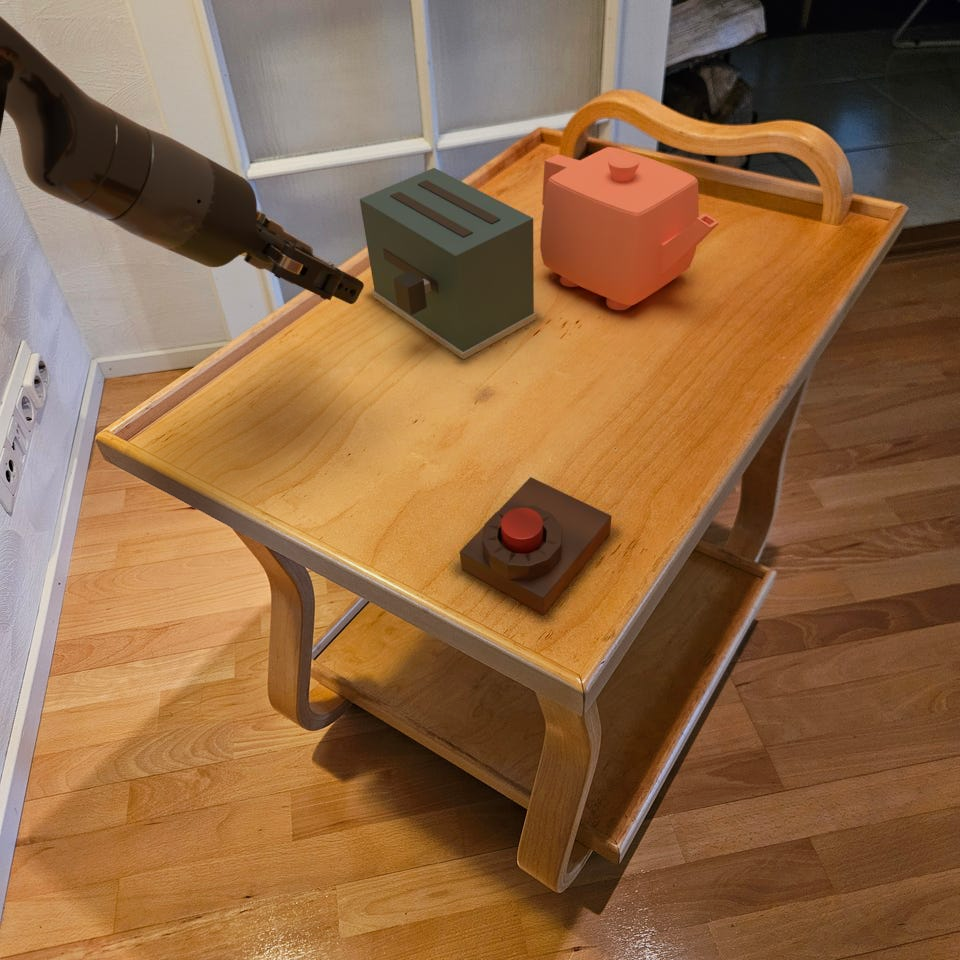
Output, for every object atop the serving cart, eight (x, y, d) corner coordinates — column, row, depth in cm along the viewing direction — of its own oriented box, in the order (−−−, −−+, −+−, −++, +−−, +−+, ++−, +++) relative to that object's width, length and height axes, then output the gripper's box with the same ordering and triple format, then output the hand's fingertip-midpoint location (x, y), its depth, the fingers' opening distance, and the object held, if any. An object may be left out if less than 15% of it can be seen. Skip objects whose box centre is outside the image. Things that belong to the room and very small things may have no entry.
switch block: (543, 616, 63) (543, 584, 60) (460, 569, 67) (457, 537, 64) (610, 533, 69) (613, 500, 66) (530, 493, 72) (530, 461, 69)
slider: (411, 315, 83) (407, 288, 80) (397, 305, 84) (393, 278, 82) (436, 302, 84) (433, 275, 82) (422, 293, 85) (418, 266, 83)
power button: (527, 560, 62) (527, 545, 61) (493, 542, 64) (492, 527, 63) (550, 533, 64) (551, 518, 63) (517, 516, 66) (516, 501, 64)
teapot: (732, 292, 92) (756, 170, 82) (661, 343, 86) (678, 218, 76) (582, 227, 104) (586, 112, 94) (511, 268, 98) (508, 151, 88)
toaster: (463, 360, 86) (455, 255, 77) (372, 296, 95) (356, 197, 86) (536, 319, 90) (536, 216, 82) (443, 262, 100) (434, 164, 91)
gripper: (247, 184, 58) (397, 267, 71) (157, 125, 65) (307, 210, 79) (199, 280, 59) (355, 344, 72) (117, 211, 67) (271, 280, 80)
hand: (330, 274), depth 75 cm, fingers open, 8 cm apart
